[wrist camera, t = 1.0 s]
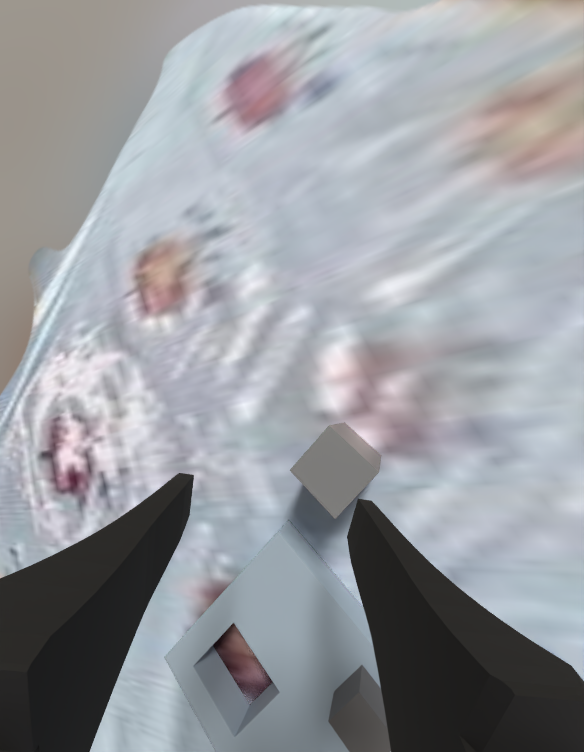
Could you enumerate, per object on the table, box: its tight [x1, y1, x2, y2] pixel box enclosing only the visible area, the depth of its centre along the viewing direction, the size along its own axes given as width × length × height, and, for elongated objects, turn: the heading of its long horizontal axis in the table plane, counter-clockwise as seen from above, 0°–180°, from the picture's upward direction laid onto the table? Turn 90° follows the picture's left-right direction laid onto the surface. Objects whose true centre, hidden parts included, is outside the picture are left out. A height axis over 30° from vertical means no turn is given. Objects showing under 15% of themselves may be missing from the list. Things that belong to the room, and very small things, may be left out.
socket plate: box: [164, 520, 391, 752], centre depth 21 cm, size 14×16×4 cm
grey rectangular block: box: [290, 423, 381, 519], centre depth 20 cm, size 4×4×7 cm
